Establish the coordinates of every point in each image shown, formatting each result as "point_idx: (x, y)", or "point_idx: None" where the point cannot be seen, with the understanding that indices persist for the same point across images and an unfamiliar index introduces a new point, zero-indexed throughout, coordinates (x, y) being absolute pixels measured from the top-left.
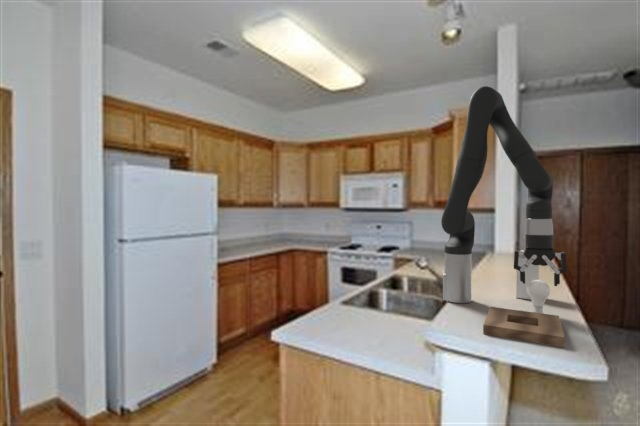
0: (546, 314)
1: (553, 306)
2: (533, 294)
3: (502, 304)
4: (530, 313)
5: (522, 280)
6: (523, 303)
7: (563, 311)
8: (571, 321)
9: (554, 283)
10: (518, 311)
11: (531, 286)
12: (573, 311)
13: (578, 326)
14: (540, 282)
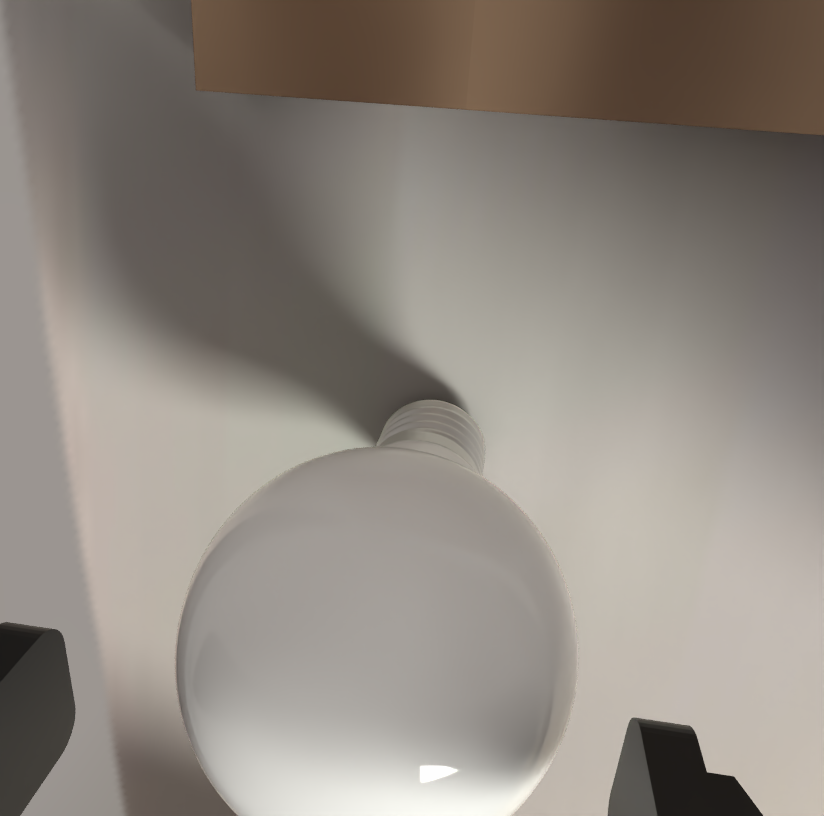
0: (349, 72)
1: None
2: (479, 477)
3: (776, 712)
4: (580, 10)
5: (703, 793)
6: (532, 802)
7: None
8: (119, 300)
9: (19, 658)
10: (760, 52)
11: (506, 602)
12: (112, 670)
13: (50, 112)
14: (299, 689)
